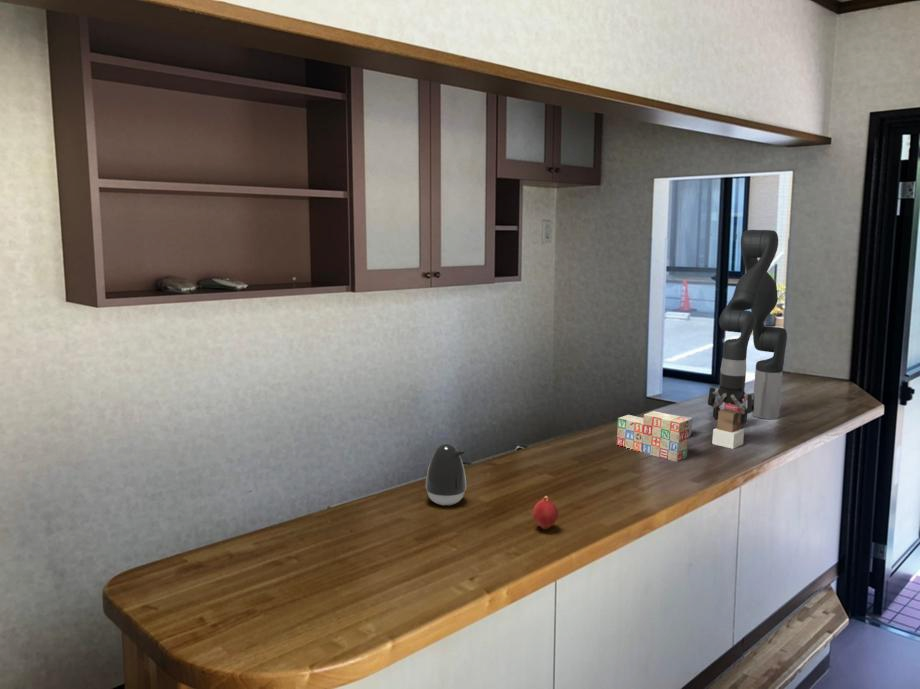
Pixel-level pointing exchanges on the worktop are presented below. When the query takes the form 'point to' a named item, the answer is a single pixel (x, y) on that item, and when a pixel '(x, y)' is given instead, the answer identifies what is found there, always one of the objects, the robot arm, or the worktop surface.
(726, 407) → the soda can
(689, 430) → the slate-grey block
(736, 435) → the base block
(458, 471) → the pump dispenser
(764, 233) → the robot arm
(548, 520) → the red christmas ornament
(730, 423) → the walnut block
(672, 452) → the stack of blocks
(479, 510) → the worktop surface
